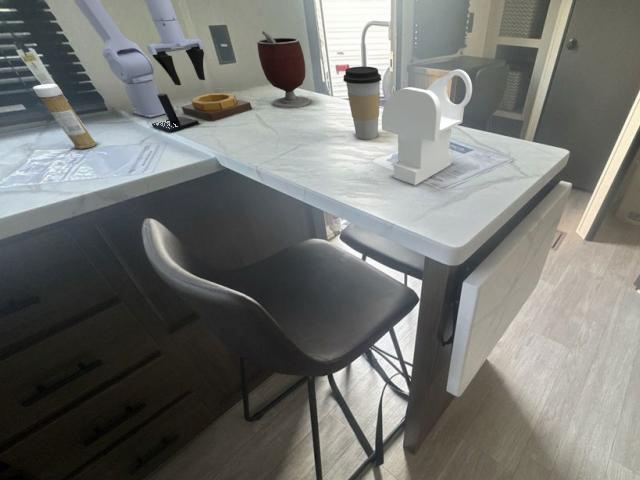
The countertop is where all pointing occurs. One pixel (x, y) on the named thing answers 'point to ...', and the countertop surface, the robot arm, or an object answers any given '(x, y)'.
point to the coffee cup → (364, 99)
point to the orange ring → (220, 101)
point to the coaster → (217, 111)
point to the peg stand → (173, 117)
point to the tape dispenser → (424, 127)
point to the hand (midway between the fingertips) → (190, 82)
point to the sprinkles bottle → (64, 115)
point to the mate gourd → (283, 67)
